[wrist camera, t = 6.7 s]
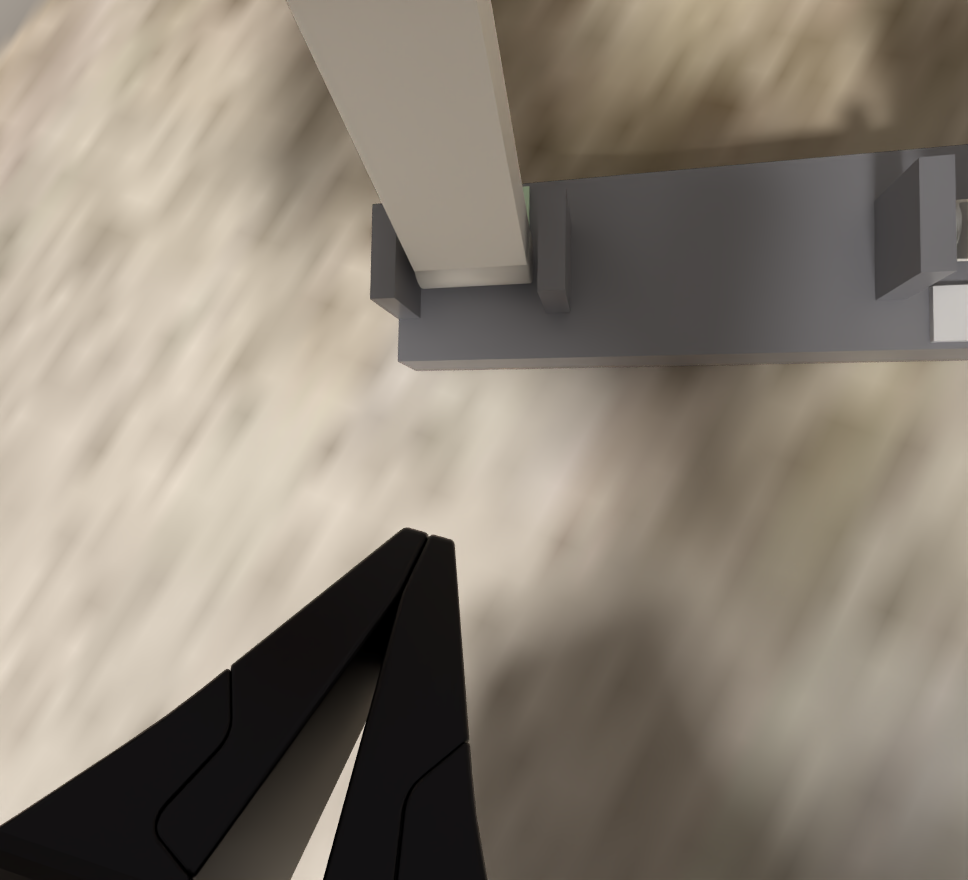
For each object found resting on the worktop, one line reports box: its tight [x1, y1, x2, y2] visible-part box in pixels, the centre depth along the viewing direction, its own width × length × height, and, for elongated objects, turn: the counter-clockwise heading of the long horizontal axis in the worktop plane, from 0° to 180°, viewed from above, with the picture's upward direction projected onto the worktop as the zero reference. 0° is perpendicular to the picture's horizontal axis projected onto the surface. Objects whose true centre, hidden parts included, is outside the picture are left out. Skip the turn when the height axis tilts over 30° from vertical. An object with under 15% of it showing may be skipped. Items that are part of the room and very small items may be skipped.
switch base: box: [370, 144, 968, 371], centre depth 18 cm, size 6×21×4 cm, turn 89°
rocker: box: [286, 0, 533, 289], centre depth 14 cm, size 2×4×11 cm, turn 89°
